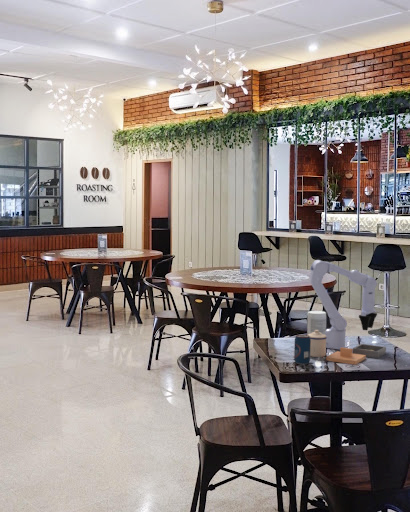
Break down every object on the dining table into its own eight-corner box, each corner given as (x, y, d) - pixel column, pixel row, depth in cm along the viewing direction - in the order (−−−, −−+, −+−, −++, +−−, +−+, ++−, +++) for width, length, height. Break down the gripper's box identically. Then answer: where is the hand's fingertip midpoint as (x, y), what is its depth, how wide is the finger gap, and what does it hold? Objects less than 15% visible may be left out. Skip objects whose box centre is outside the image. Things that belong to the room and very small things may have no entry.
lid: (326, 360, 285) (326, 349, 285) (336, 354, 296) (337, 343, 296) (355, 364, 278) (356, 353, 277) (365, 358, 289) (366, 347, 289)
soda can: (291, 361, 282) (291, 334, 281) (305, 360, 285) (305, 333, 284) (298, 365, 276) (299, 337, 275) (313, 364, 278) (313, 336, 277)
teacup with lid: (326, 353, 298) (327, 328, 298) (325, 358, 290) (326, 332, 289) (300, 351, 301) (301, 327, 301) (298, 356, 293) (299, 330, 292)
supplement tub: (329, 341, 326) (330, 312, 325) (316, 343, 321) (316, 314, 320) (316, 338, 334) (317, 310, 333) (303, 339, 329) (303, 311, 328)
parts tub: (352, 354, 297) (352, 348, 297) (360, 350, 307) (361, 343, 307) (378, 358, 290) (378, 351, 290) (385, 353, 301) (386, 347, 300)
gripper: (371, 303, 302) (371, 332, 303) (381, 300, 314) (380, 327, 315) (357, 302, 305) (356, 330, 306) (367, 298, 318) (366, 325, 319)
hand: (367, 328), depth 311 cm, fingers open, 7 cm apart
